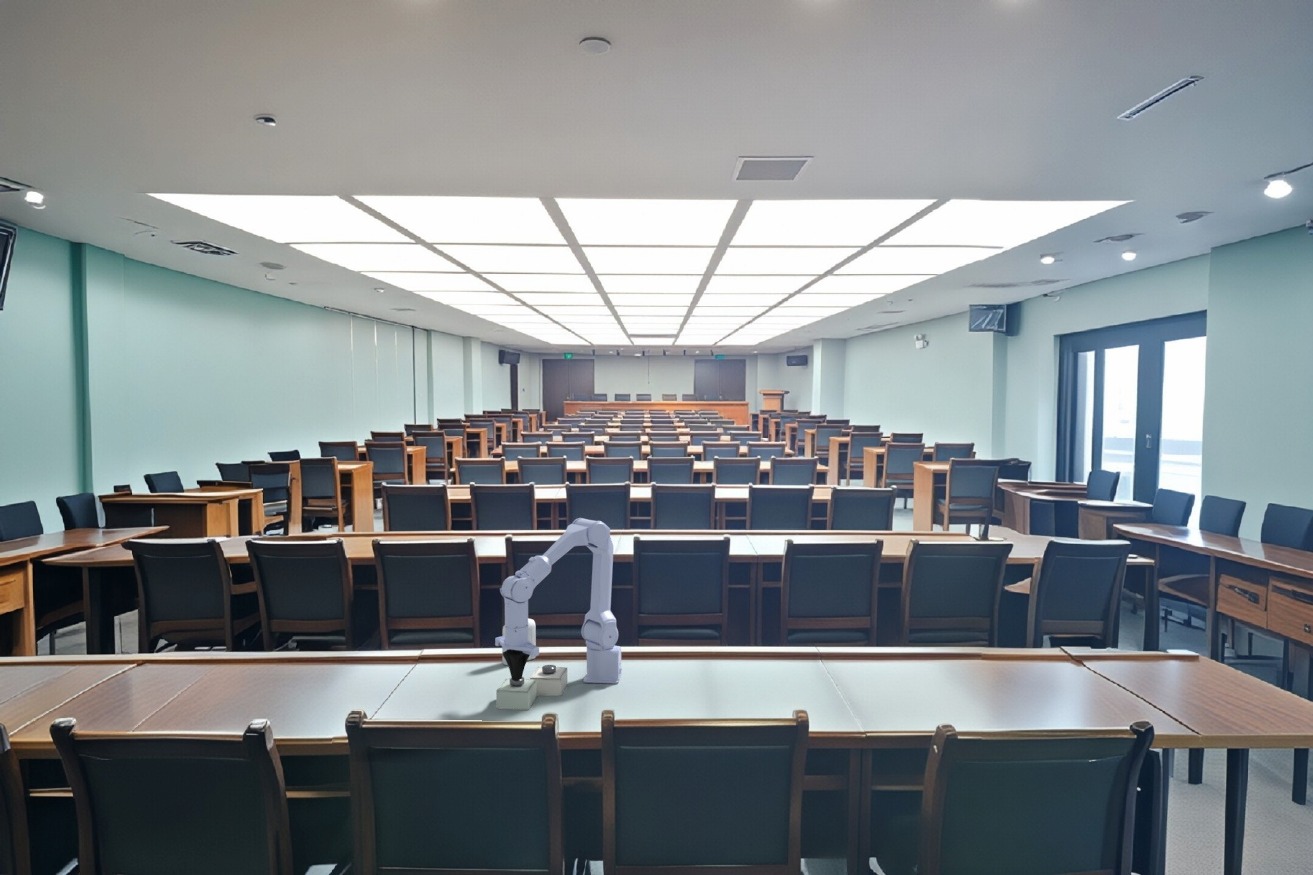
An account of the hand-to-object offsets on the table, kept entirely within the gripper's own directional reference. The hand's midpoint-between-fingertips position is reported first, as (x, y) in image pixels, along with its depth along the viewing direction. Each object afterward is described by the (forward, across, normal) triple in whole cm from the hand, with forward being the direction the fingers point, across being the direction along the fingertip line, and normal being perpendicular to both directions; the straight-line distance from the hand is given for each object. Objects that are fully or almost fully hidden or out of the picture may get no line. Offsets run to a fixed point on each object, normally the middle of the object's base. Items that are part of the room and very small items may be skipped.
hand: (516, 679), depth 172 cm
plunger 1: (+5, 0, 0) cm, 5 cm away
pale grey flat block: (+6, 0, 0) cm, 6 cm away
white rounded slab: (+6, -23, +20) cm, 32 cm away
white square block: (+6, 0, +11) cm, 12 cm away
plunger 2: (+5, 0, +11) cm, 12 cm away
